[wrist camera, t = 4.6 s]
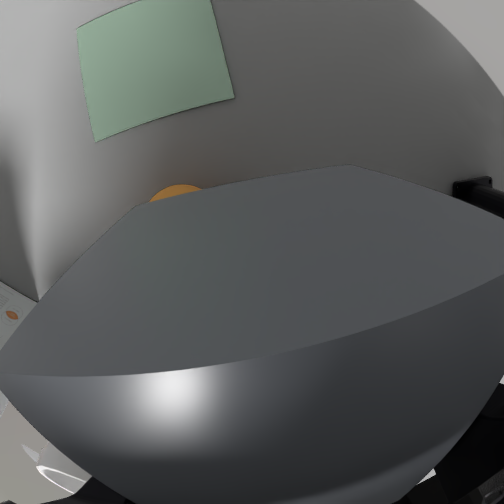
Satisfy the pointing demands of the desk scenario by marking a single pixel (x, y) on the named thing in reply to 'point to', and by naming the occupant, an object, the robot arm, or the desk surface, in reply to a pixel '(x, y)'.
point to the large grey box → (269, 341)
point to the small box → (11, 319)
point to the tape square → (151, 63)
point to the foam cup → (61, 469)
